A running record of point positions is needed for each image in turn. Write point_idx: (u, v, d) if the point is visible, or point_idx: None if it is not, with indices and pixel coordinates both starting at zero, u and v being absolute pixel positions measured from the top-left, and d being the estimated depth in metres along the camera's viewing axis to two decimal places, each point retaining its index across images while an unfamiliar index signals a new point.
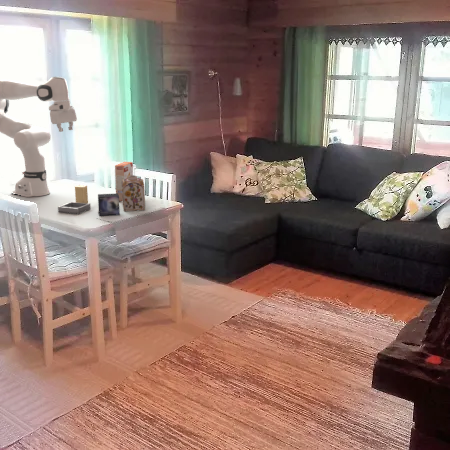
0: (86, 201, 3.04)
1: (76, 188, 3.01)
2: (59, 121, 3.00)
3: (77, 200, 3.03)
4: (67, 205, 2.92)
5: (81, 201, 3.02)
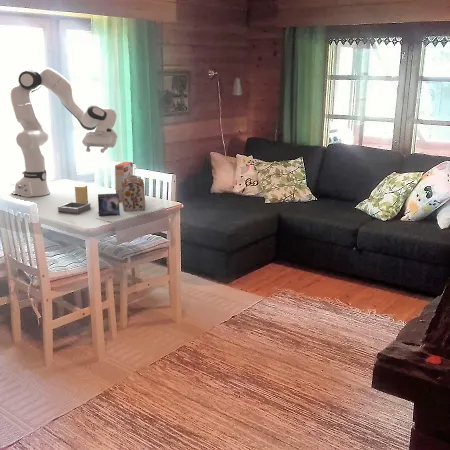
0: (86, 201, 3.04)
1: (76, 188, 3.01)
2: None
3: (77, 200, 3.03)
4: (67, 205, 2.92)
5: (81, 201, 3.02)
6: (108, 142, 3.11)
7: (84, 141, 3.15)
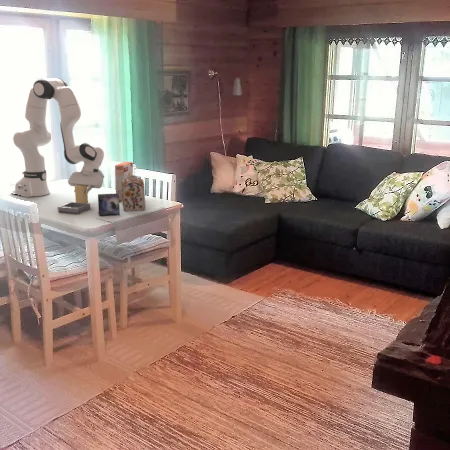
0: (86, 201, 3.04)
1: (76, 188, 3.01)
2: None
3: (77, 200, 3.03)
4: (67, 205, 2.92)
5: (81, 201, 3.02)
6: (94, 183, 3.01)
7: (70, 181, 3.06)
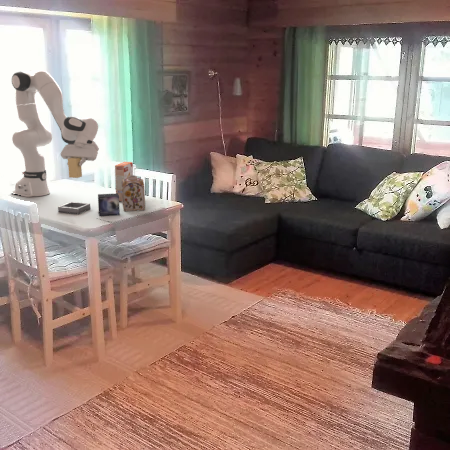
0: (80, 174, 2.89)
1: (69, 160, 2.85)
2: None
3: (70, 173, 2.87)
4: (67, 205, 2.92)
5: (74, 174, 2.86)
6: (88, 155, 2.86)
7: (62, 154, 2.90)
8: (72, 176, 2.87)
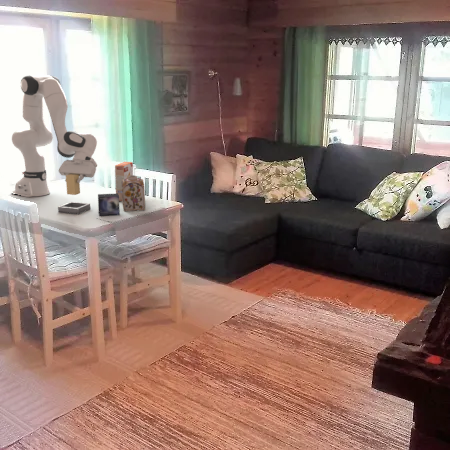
0: (78, 191, 2.87)
1: (67, 177, 2.83)
2: None
3: (68, 190, 2.85)
4: (67, 205, 2.92)
5: (72, 191, 2.84)
6: (87, 172, 2.83)
7: (61, 170, 2.88)
8: (70, 193, 2.85)
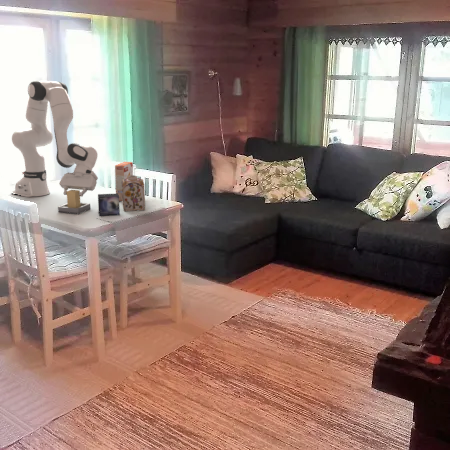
0: (79, 206, 2.89)
1: (68, 193, 2.85)
2: None
3: (69, 205, 2.87)
4: (67, 205, 2.92)
5: (73, 207, 2.87)
6: (87, 185, 2.85)
7: (61, 183, 2.90)
8: None
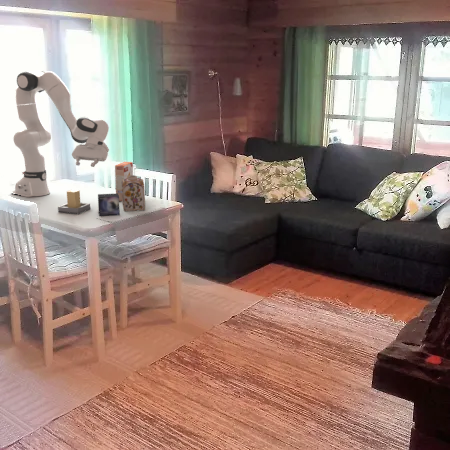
0: (79, 206, 2.89)
1: (68, 193, 2.85)
2: None
3: (69, 205, 2.87)
4: (67, 205, 2.92)
5: (73, 207, 2.87)
6: (99, 156, 2.95)
7: (74, 154, 3.00)
8: None
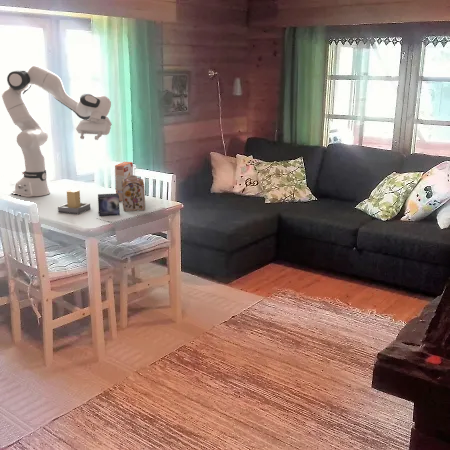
0: (79, 206, 2.89)
1: (68, 193, 2.85)
2: None
3: (69, 205, 2.87)
4: (67, 205, 2.92)
5: (73, 207, 2.87)
6: (102, 129, 3.09)
7: (78, 128, 3.13)
8: None
